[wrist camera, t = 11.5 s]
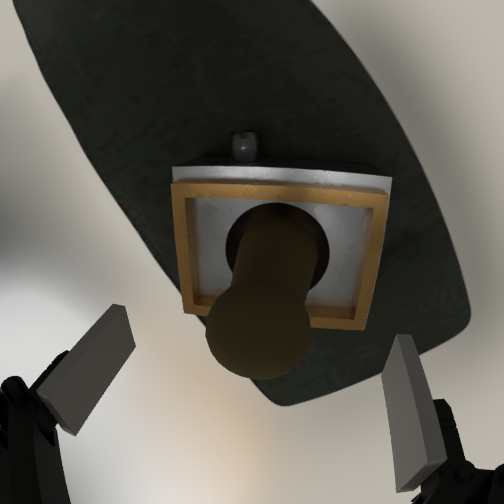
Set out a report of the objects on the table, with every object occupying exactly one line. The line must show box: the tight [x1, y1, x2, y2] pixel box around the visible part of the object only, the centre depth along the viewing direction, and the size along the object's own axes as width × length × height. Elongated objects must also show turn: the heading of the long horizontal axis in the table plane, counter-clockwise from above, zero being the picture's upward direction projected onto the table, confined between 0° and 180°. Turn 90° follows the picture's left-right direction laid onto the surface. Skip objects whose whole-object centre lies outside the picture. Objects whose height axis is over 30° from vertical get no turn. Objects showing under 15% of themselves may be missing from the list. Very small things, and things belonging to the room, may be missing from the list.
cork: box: [205, 216, 318, 379], centre depth 18 cm, size 6×6×11 cm
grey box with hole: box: [171, 132, 392, 330], centre depth 25 cm, size 15×16×8 cm
